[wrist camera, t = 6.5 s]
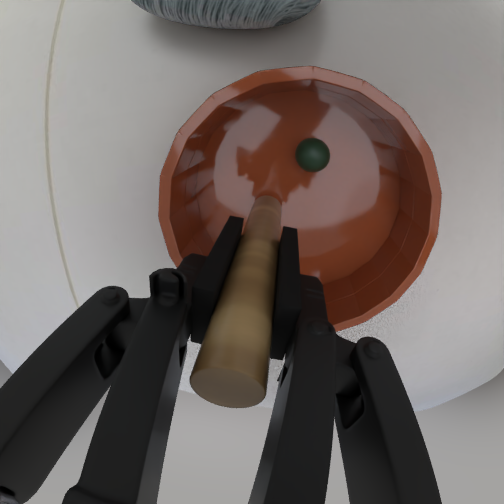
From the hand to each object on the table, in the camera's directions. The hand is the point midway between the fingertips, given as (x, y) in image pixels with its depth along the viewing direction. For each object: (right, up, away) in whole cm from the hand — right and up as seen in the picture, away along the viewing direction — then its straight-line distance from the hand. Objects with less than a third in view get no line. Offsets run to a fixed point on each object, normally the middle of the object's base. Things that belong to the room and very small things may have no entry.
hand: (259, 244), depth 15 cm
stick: (+1, +3, +5) cm, 6 cm away
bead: (+4, +6, +2) cm, 8 cm away
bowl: (+3, +4, +6) cm, 8 cm away
